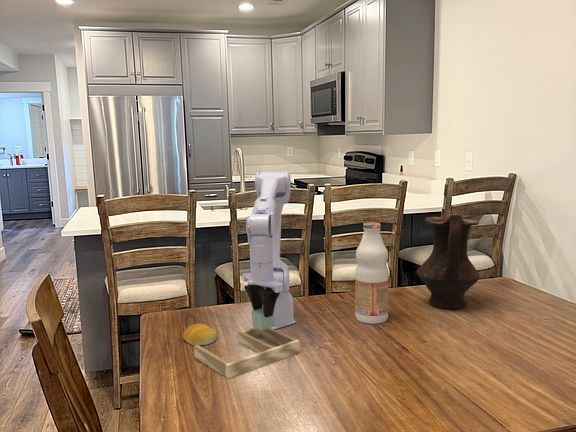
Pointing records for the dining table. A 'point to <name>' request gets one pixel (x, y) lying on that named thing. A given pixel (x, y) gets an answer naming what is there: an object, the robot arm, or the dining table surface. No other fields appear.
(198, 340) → the bread roll
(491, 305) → the dining table surface
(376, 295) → the fruit juice
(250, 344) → the organiser frame
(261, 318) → the teal block
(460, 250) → the jug
